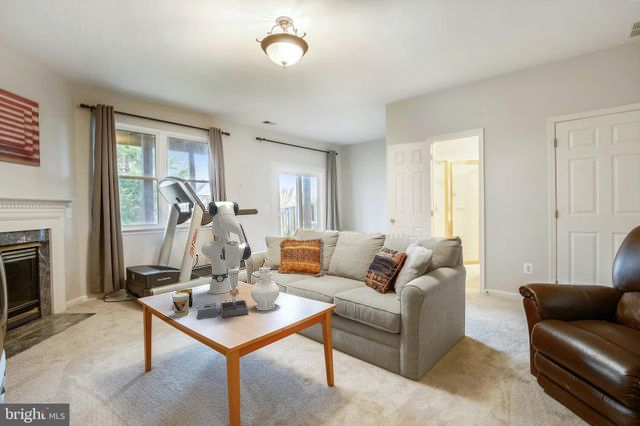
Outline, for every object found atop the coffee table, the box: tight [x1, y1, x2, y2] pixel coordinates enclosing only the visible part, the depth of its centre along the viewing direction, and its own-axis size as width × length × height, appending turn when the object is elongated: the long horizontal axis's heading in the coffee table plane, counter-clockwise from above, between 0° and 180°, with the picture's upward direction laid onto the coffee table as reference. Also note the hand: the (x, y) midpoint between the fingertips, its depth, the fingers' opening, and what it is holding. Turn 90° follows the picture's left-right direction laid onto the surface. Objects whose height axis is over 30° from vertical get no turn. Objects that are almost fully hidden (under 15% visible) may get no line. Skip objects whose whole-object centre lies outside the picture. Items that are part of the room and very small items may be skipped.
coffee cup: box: [172, 293, 190, 318], centre depth 185 cm, size 9×9×12 cm
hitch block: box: [197, 302, 217, 320], centre depth 183 cm, size 10×10×5 cm
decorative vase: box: [250, 266, 280, 311], centre depth 195 cm, size 18×18×25 cm
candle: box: [174, 288, 194, 308], centre depth 201 cm, size 10×10×10 cm
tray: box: [220, 299, 249, 319], centre depth 188 cm, size 18×15×4 cm
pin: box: [229, 288, 239, 310], centre depth 188 cm, size 2×5×12 cm, turn 109°
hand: (233, 290), depth 188 cm, fingers open, 8 cm apart
